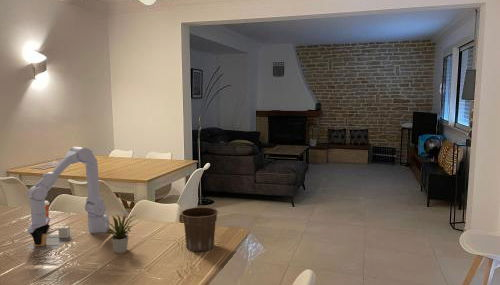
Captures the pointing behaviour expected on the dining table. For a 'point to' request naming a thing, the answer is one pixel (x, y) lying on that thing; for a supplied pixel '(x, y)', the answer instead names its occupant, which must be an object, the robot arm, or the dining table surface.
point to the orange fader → (42, 240)
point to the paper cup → (47, 210)
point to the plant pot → (199, 228)
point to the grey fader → (64, 231)
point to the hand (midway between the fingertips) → (40, 243)
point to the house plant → (120, 234)
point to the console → (51, 242)
